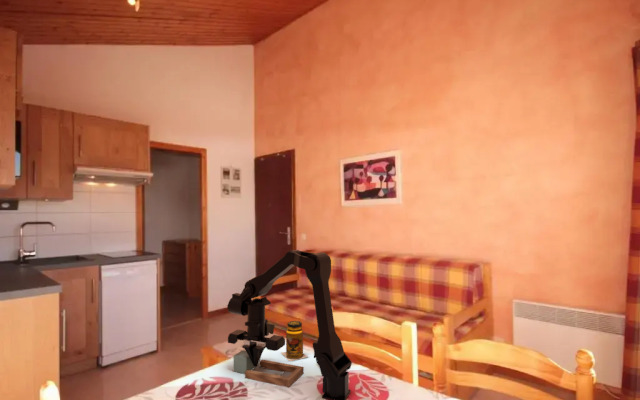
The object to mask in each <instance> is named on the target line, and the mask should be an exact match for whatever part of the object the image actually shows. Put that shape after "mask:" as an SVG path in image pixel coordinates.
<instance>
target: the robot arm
mask: <svg viewBox="0 0 640 400" xmlns="http://www.w3.org/2000/svg"><path fill="white" fill-rule="evenodd" d="M294 266H295V267H297V268H299V269H302V270H304V272H305V275H306V278H307V280H308V281H309V282H310V283H311V287H312V293H313V301H314V307H315V316H316V325H317V331H318V338H317V340H315V341H313V342H312V349H313V359H315V361H316V364H317V366H318V367H319V371H320V374H321V377H322V393H323V394H322V395H321V397H322V399H326V400H347V398H348V397H349V395H350V394H351V389H349V375H350V374H349V372H350V371H349V370H350V369H351V367H352V364H353V362H352V360H351V359H350V358H349V356H348V355H347V353H346V352H345V351H344V347H343V343H342V340H341V338H340V336H338V334H337V333H336V327H335V321H334V314H333V313H334V312H333V306H332V299H331V298H332V297H331V292H330V284H329V281H330V278H331V274H332V260H331V257H330V255H329V254H327V253H326V252H323V251H321V252H316V253H314V252H308V251H303V250H299V249H294V250H289V251H287V252H286V253H285V254H284V255H283V257H281V258H280V259H279V260H278V261H276V262H275V263H274V264H272V265H271V266H270V267H269V268H268V269H267V270H266V271H264V272H263V273H261V274H259V275H257V276H255V277H253V278H251V279H249V280H247V281H246V282H245V283H244V287H243V289H242V291H241V293H239V292H235V293H232V294H231V298H230V299H229V301H228V303H227V305H226V306H227V311H228V313H230V314H233V315H238V316H243V317H245V316H247V319H246V320H247V321H245V322H244V326H245V327H247V328H246V329H247V330H243V329H237V330H234V331H232V332H230V333H229V334H228V336H227V343H228V344H231V345H232V344H233V345H235V344H237V342H239V341H243V344H242V346H241V348H243V350H244V351H246V352H247V354H248V355H249V357H250V359H251V361H252V363H253V366H254V367H255V368H257V367H258V366H259V364H260V361H261V358H262V355H263V352H264V350H265V349H267V351H268V350H269V351H273V352H276V351H279V350H280V349H281V348H283V347H284V346H285V345H286V338H285V337H284V336H283V335H276V334H274V332H275V324H271V323H268V322H269V321H268V319H267V318H266V306H269V305H271V303H272V302H271V301H270V299H268V298H267V297H266V296H265V295H267V294H268V293H269V292H270V290H271V289H272V288H273V284H274V283H275V282H276V281H277V280H279V279H280V278H281V277H283V275H284V274H286V273H287V272H288V271H290V270H291V269H292V268H293V267H294ZM262 296H263V297H262ZM259 297H261V298H259ZM269 335H272V336H270V337H268V336H269Z"/></svg>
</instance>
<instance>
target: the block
mask: <svg viewBox="0 0 640 400" xmlns="http://www.w3.org/2000/svg"><path fill="white" fill-rule="evenodd" d="M232 368H233V372H235V373H241V374H244V375H245V371H246V370H253V371H254V369H256V367H254V366H253V363H252V361H251V359H250V357H249V355H248V354H247V352H246V350H245V349H243V350H240V351H239V352H237V353H235V354H234V355H233V367H232Z"/></svg>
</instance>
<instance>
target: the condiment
mask: <svg viewBox="0 0 640 400" xmlns="http://www.w3.org/2000/svg"><path fill="white" fill-rule="evenodd" d="M286 326H287V327H286V328H287V330H286V331H285V333H286V335H285V345H286V347H285V352H280V354H281V355H282V356H283V357H284V358H285V359H286V360H287V361H288V362H291V361H292V362H293V361H298V360H301V359H305V358H308V357H309V356H307V355H306V354H305V353H304V330H303V323H302V322H301V321H300V320H291V321H288V322H287V324H286Z"/></svg>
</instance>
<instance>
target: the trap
mask: <svg viewBox="0 0 640 400" xmlns="http://www.w3.org/2000/svg"><path fill="white" fill-rule="evenodd" d="M291 373H292V372H286V371H285V372H282V373H281V374H280V375H279V376H283V377H288V376H289V375H290V374H291Z"/></svg>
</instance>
